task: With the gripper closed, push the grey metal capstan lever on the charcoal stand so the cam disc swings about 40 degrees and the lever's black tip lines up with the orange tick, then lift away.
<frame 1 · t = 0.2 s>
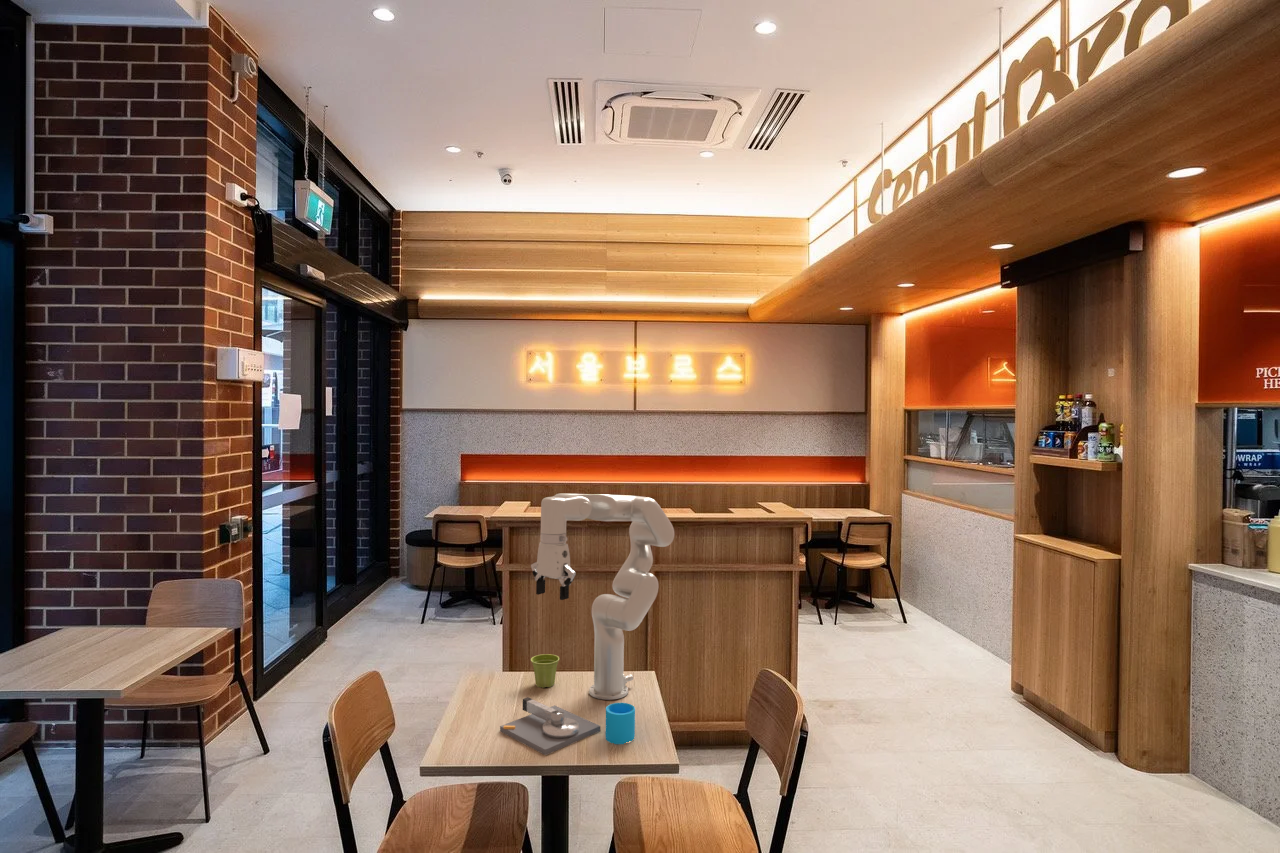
hand: (552, 596, 209), 36 cm above the table, tool pointing down, fingers open, 9 cm apart
plant pot: (544, 685, 234), on the table
capstan lever: (548, 716, 200), point 4 cm above the table, hinge at 0.0°
stand base: (550, 731, 199), on the table
mug: (620, 735, 198), on the table
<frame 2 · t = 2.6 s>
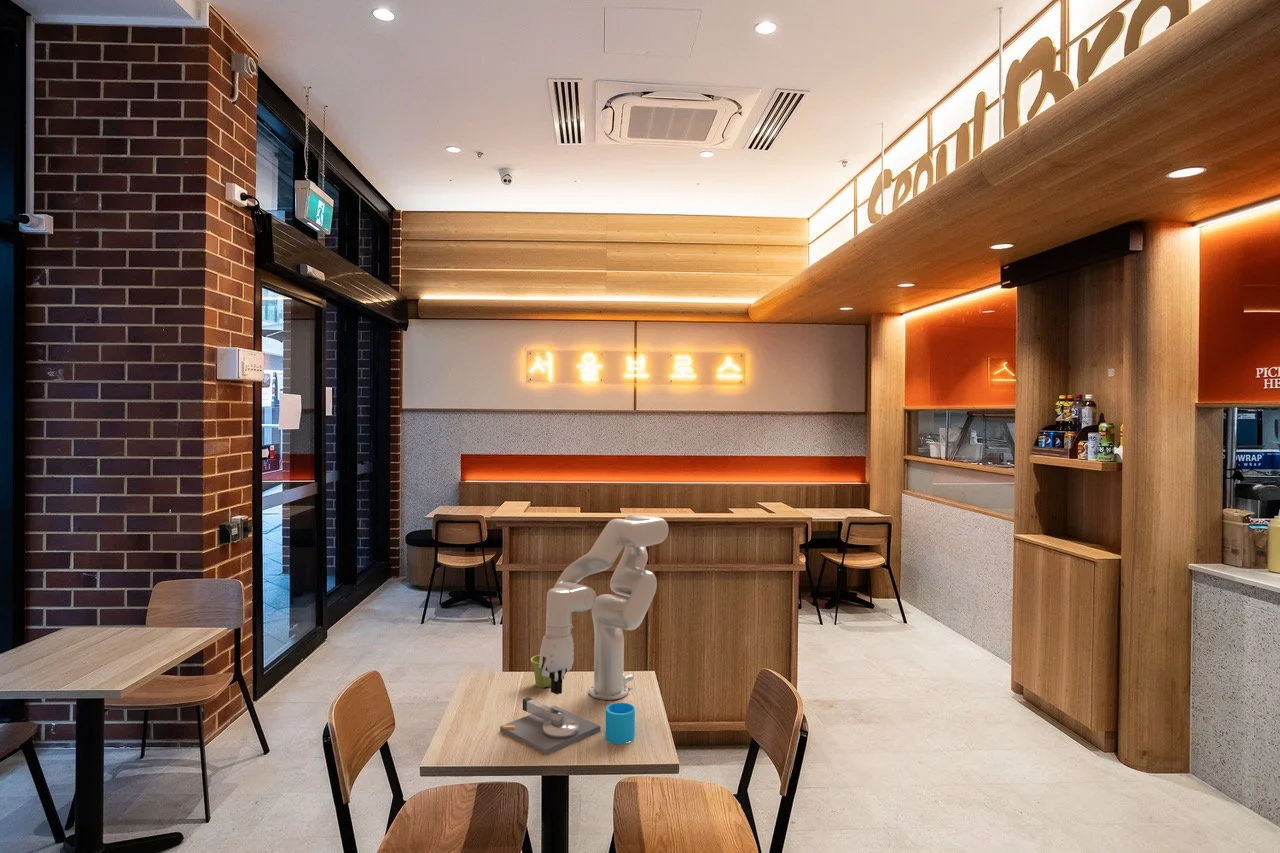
hand: (556, 692, 209), 7 cm above the table, tool pointing down, fingers closed
nothing on the table moved.
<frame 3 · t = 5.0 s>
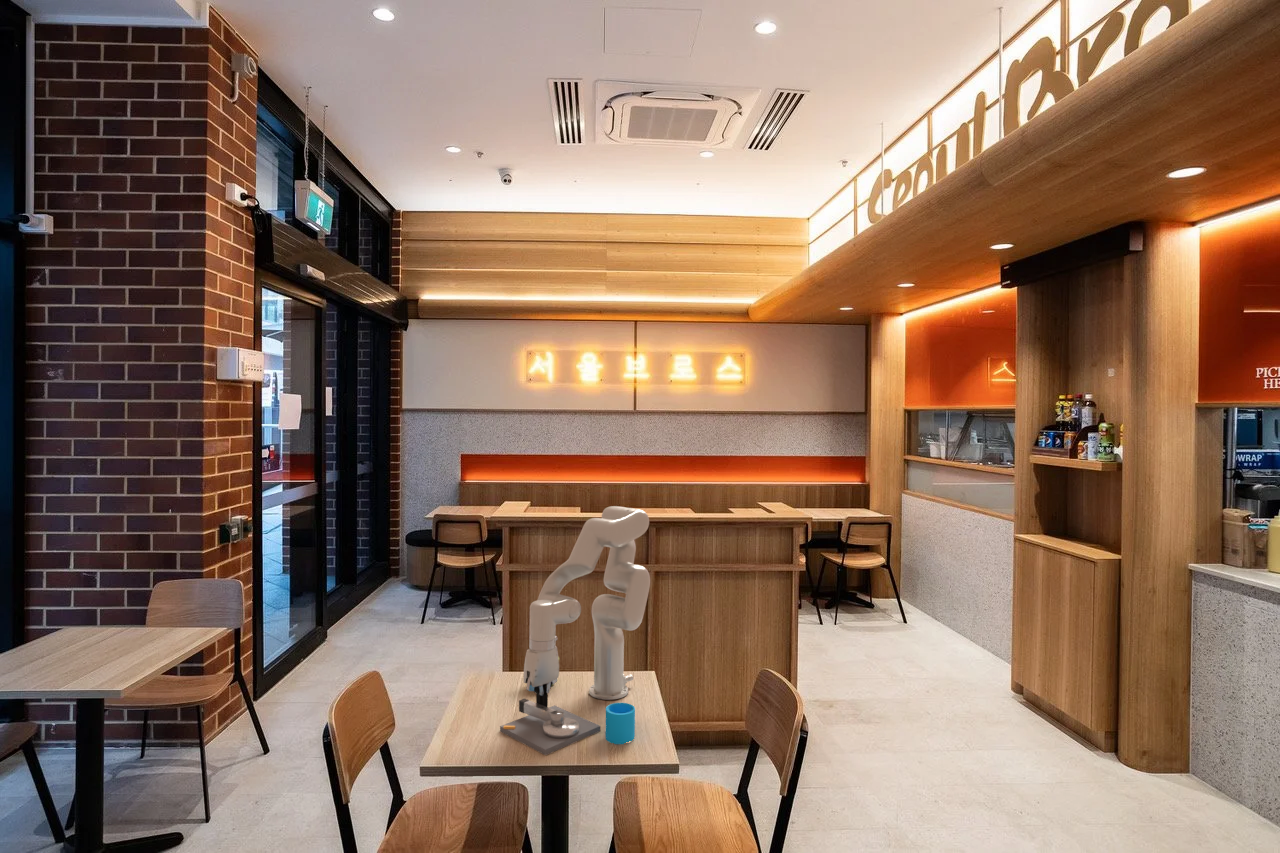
hand: (541, 706, 205), 5 cm above the table, tool pointing down, fingers closed
capstan lever: (547, 716, 200), point 4 cm above the table, hinge at 5.5°, touching gripper
everything else where it was.
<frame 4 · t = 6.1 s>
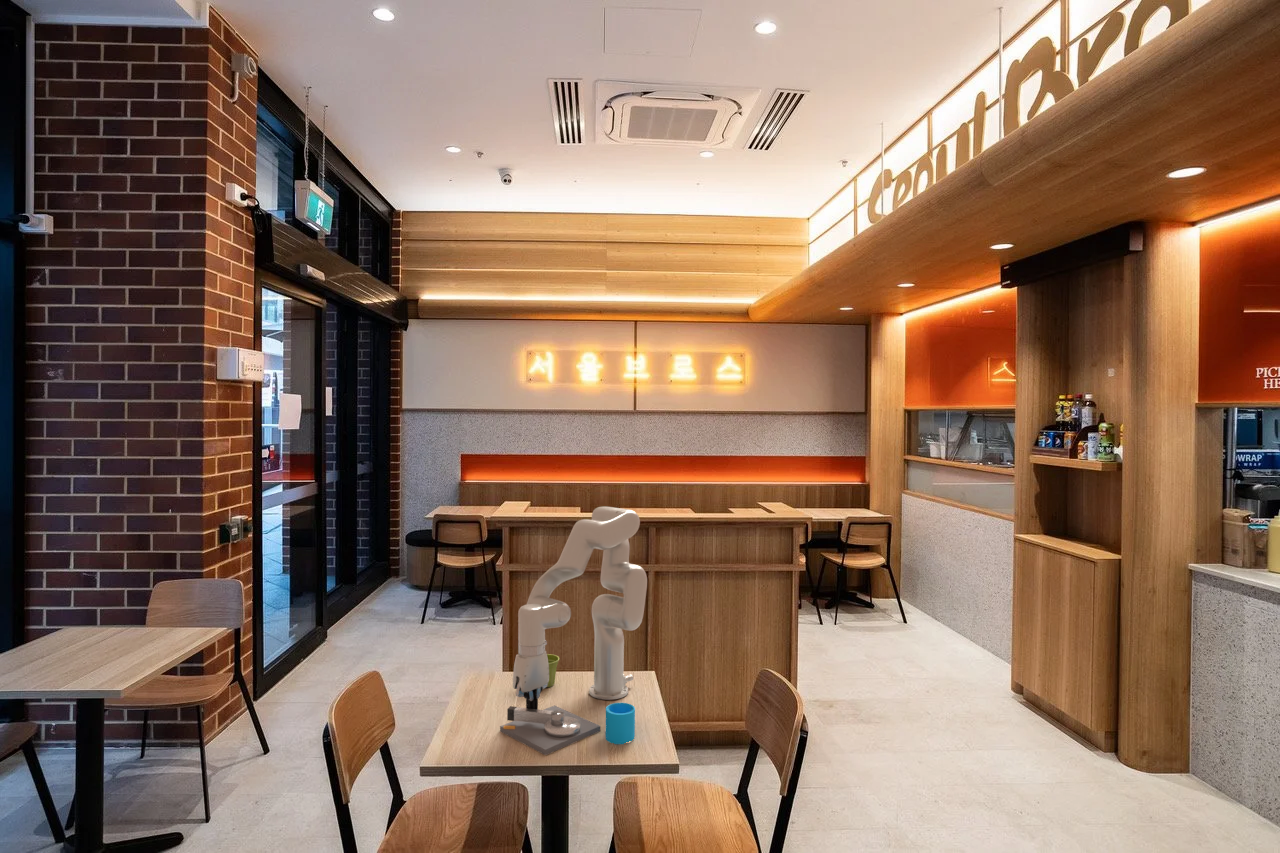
hand: (532, 711, 202), 4 cm above the table, tool pointing down, fingers closed
capstan lever: (543, 719, 198), point 4 cm above the table, hinge at 31.0°, touching gripper
everything else where it was.
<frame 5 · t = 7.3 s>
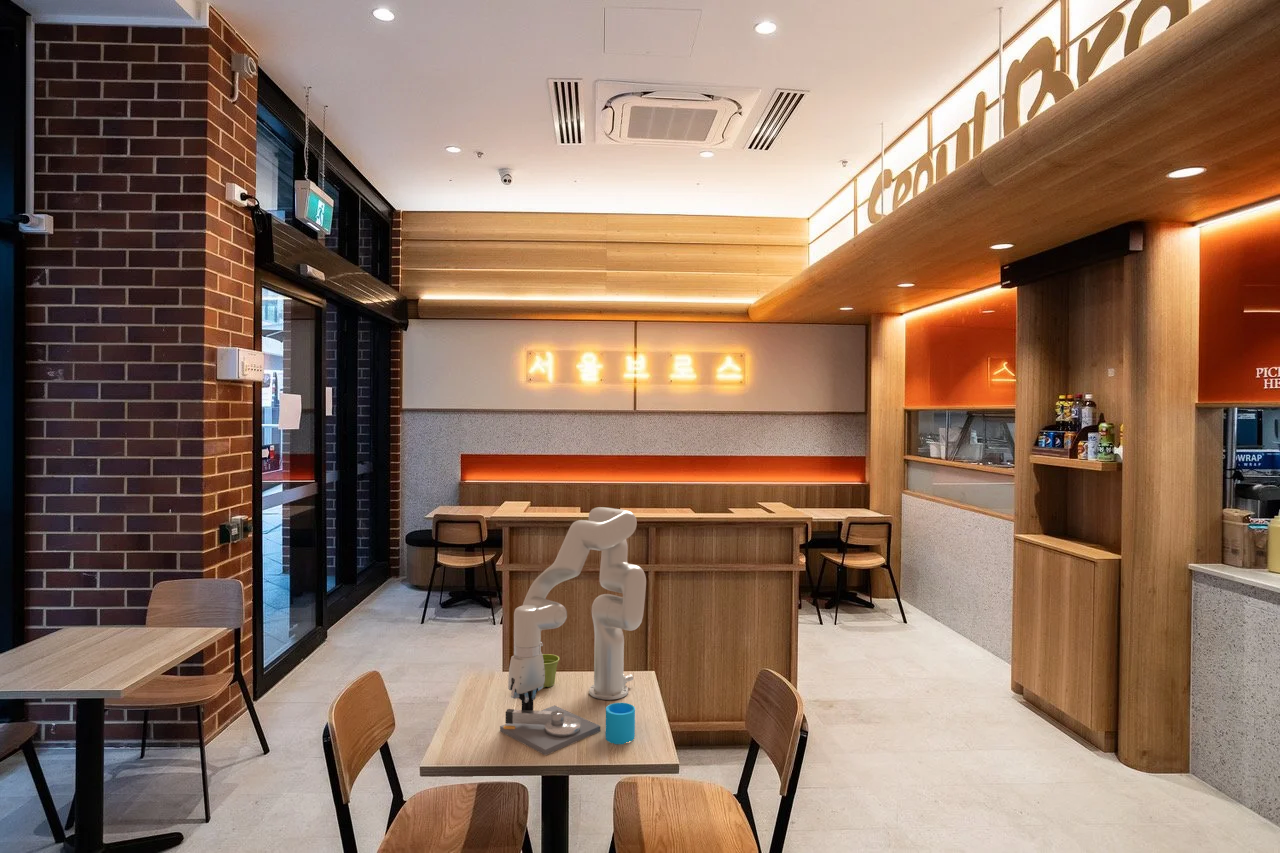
hand: (527, 713, 201), 4 cm above the table, tool pointing down, fingers closed
capstan lever: (543, 720, 198), point 4 cm above the table, hinge at 39.0°, touching gripper
everything else where it was.
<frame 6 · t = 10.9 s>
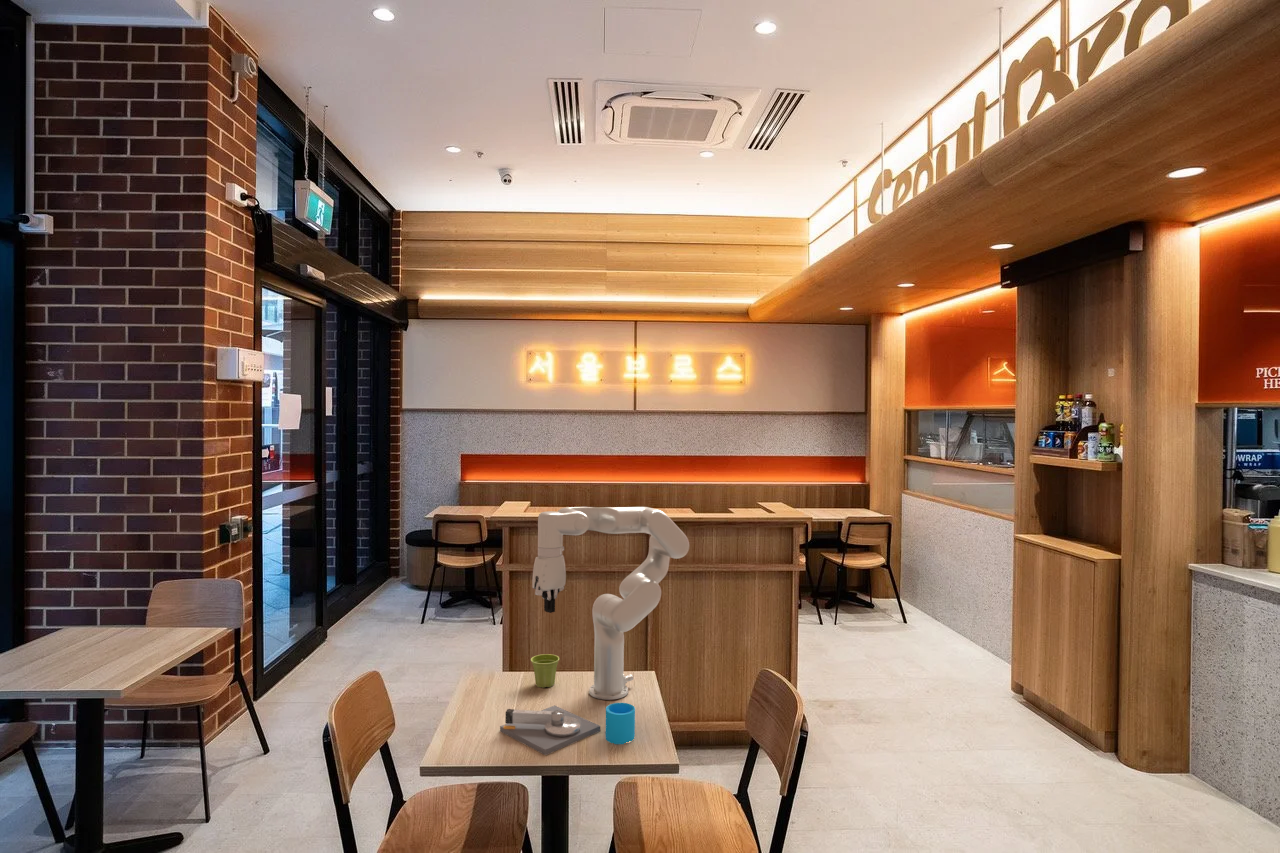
hand: (549, 611, 216), 29 cm above the table, tool pointing down, fingers closed
capstan lever: (543, 720, 198), point 4 cm above the table, hinge at 39.1°
everything else where it was.
at the end: capstan lever at +39° (first picture: +0°); mug moved 0.3 cm from its start; plant pot moved 0.3 cm from its start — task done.
